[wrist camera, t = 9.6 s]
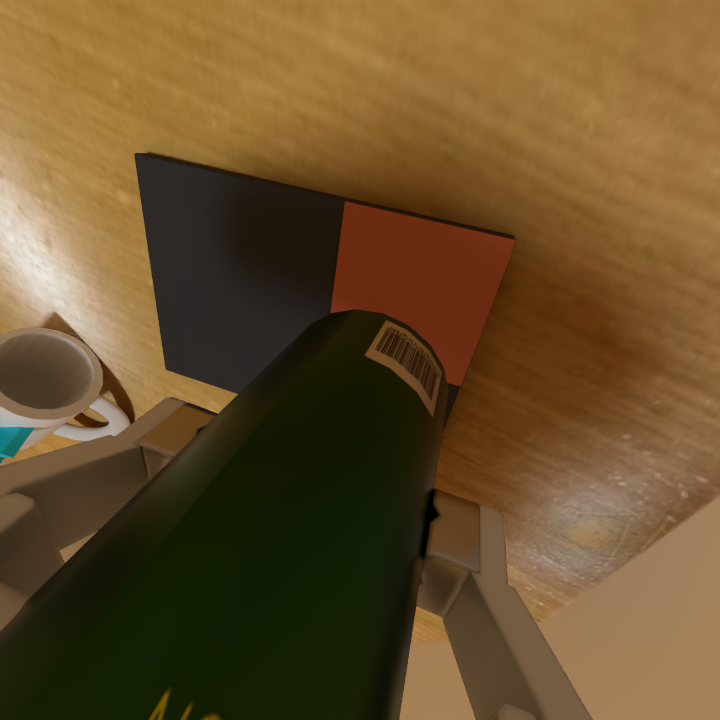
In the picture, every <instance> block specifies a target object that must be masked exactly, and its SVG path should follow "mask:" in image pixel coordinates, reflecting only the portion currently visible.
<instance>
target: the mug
mask: <svg viewBox="0 0 720 720" xmlns="http://www.w3.org/2000/svg"><path fill="white" fill-rule="evenodd" d="M102 385H103V370H102V368H101V365H100V362H99V360H98V358H97V357H96V355H95V354H94V353H93V352H92V350H91V349H90V348H89V347H88V346H87V345H85V344H84V343H82V342H81V341H80V340H78V339H77V338H76V337H73V336H71V335H68V334H66V333H64V332H61V331H59V330H53V329H47V328H41V327H37V328H21V329H17V330H14V331H11V332H8V333H5V334H2V335H1V336H0V463H1V462H2V461H3V459H4V458H5V457H10V458H13V457H14V456H15V455H16V453H17V452H18V451H19V450H23V449H26V448H28V447H31V446H33V445H35V444H37V443H38V442H40V441H41V440H43V439H44V438H46V437H47V436H48V435H50V434H51V433H53V434H56V435H59V436H62V437H66V438H70V439H74V440H80V441H90V440H93V439H96V438H100V437H103V436H107V435H112V436H116V435H118V434H119V433H120V432H122V431H123V430H124V429H126V428H127V427H128V426H130V425H131V423H130V421H129V418H128V416H127V415H126V414H125V413H124V412H123V411H122V409H121V408H120V407H118V406H117V405H116V404H114V403H113V402H112V401H110V400H109V399H107V398H105V397H103V396H102V395H100V394H99V393H100V390H101V388H102ZM88 407H89V408H91V409H93V410H95V411H97V412H98V413H100V414H101V415H102V416H104V417H105V418H106V419H107V420H108V421H109V424H108V425H107V426H104V427H99V428H90V427H82V426H77V425H73V424H69V423H67V422H68V421H69V420H71V419H72V418H74V417H75V416H76V415H78V414H79V413H81V412H82V411H83V410H85V409H86V408H88Z"/></svg>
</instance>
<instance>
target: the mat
mask: <svg viewBox="0 0 720 720" xmlns="http://www.w3.org/2000/svg"><path fill="white" fill-rule="evenodd" d="M135 162H136V169H137V176H138V183H139V189H140V196H141V203H142V210H143V217H144V224H145V231H146V237H147V244H148V251H149V258H150V265H151V272H152V278H153V285H154V292H155V299H156V306H157V313H158V320H159V326H160V333H161V340H162V347H163V354H164V361H165V367H166V370H168V371H171V372H174V373H177V374H180V375H183V376H186V377H189V378H192V379H195V380H198V381H201V382H204V383H207V384H210V385H213V386H216V387H219V388H222V389H225V390H228V391H231V392H234V393H237V394H239V393H240V392H241V391H242V390H243V389H244V388H245V387H246V386H247V385H248V384H249V383H250V382H252V381H253V380H254V379H255V378H256V377H257V376H258V375H259V374H260V373H261V372H262V371H263V370H264V369H265V368H266V367H267V366H268V365H269V364H270V363H271V362H272V361H273V360H274V359H275V358H276V357H277V356H278V355H279V354H280V353H281V352H282V351H283V350H284V349H285V348H286V347H287V346H288V345H289V344H290V343H292V342H293V341H294V340H295V339H296V338H297V337H298V336H299V335H300V334H301V333H302V332H303V331H304V330H305V329H306V328H307V327H308V326H309V325H310V324H312V323H314V322H315V321H317V320H319V319H321V318H323V317H324V316H326V315H328V314H330V313H335V312H341V311H347V310H353V309H359V310H366V311H373V312H379V313H386V314H388V315H390V316H393V317H395V318H397V319H399V320H401V321H403V322H405V323H407V324H409V325H410V326H411V327H412V328H413V329H414V330H415V331H417V332H418V333H419V334H420V335H421V336H422V337H423V338H424V339H425V340H426V341H427V342H428V343H429V344H430V345H431V346H432V348H433V350H434V351H435V353H436V355H437V357H438V358H439V360H440V362H441V363H442V365H443V367H444V370H445V376H446V381H447V386H448V398H447V405H446V411H445V418H444V424H443V430H444V428H445V425H446V422H447V420H448V417H449V415H450V412H451V409H452V407H453V404H454V401H455V399H456V396H457V394H458V391H459V388H460V387H461V385H462V382H463V380H464V377H465V374H466V372H467V369H468V367H469V364H470V361H471V359H472V356H473V354H474V351H475V348H476V346H477V343H478V340H479V338H480V335H481V333H482V330H483V327H484V325H485V322H486V320H487V317H488V314H489V312H490V309H491V307H492V304H493V301H494V299H495V296H496V294H497V291H498V288H499V286H500V283H501V280H502V278H503V275H504V273H505V270H506V267H507V265H508V262H509V260H510V257H511V254H512V252H513V249H514V247H515V244H516V240H515V237H514V236H513V235H509V234H504V233H500V232H495V231H491V230H487V229H482V228H478V227H473V226H469V225H464V224H460V223H455V222H451V221H447V220H442V219H438V218H433V217H429V216H424V215H420V214H415V213H411V212H407V211H402V210H398V209H393V208H389V207H384V206H380V205H375V204H371V203H367V202H362V201H358V200H353V199H349V198H344V197H340V196H335V195H331V194H327V193H322V192H318V191H313V190H309V189H304V188H300V187H295V186H291V185H287V184H282V183H278V182H273V181H269V180H264V179H260V178H255V177H251V176H247V175H242V174H238V173H233V172H229V171H224V170H220V169H215V168H211V167H207V166H202V165H198V164H193V163H189V162H184V161H180V160H175V159H171V158H167V157H162V156H158V155H153V154H149V153H135ZM442 433H443V431H442Z"/></svg>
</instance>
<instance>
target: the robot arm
mask: <svg viewBox="0 0 720 720" xmlns="http://www.w3.org/2000/svg"><path fill="white" fill-rule="evenodd" d="M217 415H218V414H217V413H215V412H212V411H209V410H207V409H204V408H201V407H199V406H196V405H193V404H191V403H187V402H185V401H182V400H179V399H177V398H174V397H170V398H166V399H164V400H163V401H161V402H160V403H159V404H157V405H156V406H155V407H153V408H152V409H151V410H149V411H148V412H147V413H145V414H144V415H143V416H141V417H140V418H139V419H138V420H136V421H135V422H134V423H132V424H131V425H130V426H128V427H127V428H126V429H124V430H123V431H122V432H120V433H119V434H118V435H116V436H112V435H107V436H103V437H100V438H96V439H93V440H90V441H86V442H83V443H79V444H76V445H72V446H69V447H65V448H62V449H59V450H55V451H52V452H48V453H45V454H41V455H38V456H34V457H31V458H28V459H24V460H21V461H17V462H14V463H10V464H7V465H3V466H0V631H1V630H2V629H3V628H4V627H5V626H6V625H7V624H8V623H9V622H10V621H11V620H12V618H13V617H14V616H15V615H16V614H17V613H18V612H19V610H20V609H21V608H22V607H23V605H24V604H25V602H26V601H27V600H28V599H29V598H30V597H31V596H32V595H33V594H34V593H35V592H36V591H37V590H38V589H39V588H40V587H41V586H42V585H43V584H44V583H45V582H46V581H47V580H48V579H49V578H50V577H51V576H53V575H54V574H55V573H56V572H57V571H58V570H59V569H60V568H61V567H62V566H63V565H64V564H65V562H64V560H63V558H62V556H61V554H60V552H59V551H60V550H61V549H63V548H65V547H67V546H69V545H71V544H73V543H75V542H77V541H79V540H81V539H83V538H85V537H86V536H88V535H90V534H92V533H94V532H96V531H98V530H100V529H101V528H102V527H103V526H104V525H105V524H106V523H107V522H108V521H109V520H110V519H111V518H112V517H113V516H114V515H115V514H116V513H117V512H118V511H119V510H120V509H121V508H122V507H123V506H124V505H125V504H126V503H127V502H128V501H129V500H130V499H132V498H133V497H134V496H135V495H136V494H137V493H138V492H139V491H140V490H141V489H142V488H143V487H144V486H145V485H146V484H147V483H148V482H149V481H150V480H151V479H152V478H153V477H154V476H155V475H156V474H157V473H158V472H159V471H160V470H161V469H162V468H163V467H164V466H165V465H166V464H167V463H168V462H169V461H170V460H172V459H173V458H174V457H175V456H176V455H177V454H178V453H179V452H180V451H181V450H182V449H183V448H184V447H185V446H186V445H187V444H188V443H189V442H190V441H191V440H192V439H193V438H194V437H195V436H196V435H197V434H198V433H199V432H200V431H201V430H202V429H203V428H204V427H205V426H206V425H207V424H208V423H209V422H210V421H212V420H213V419H214V418H215V417H216V416H217ZM416 606H418V607H420V608H422V609H424V610H427V611H429V612H431V613H434V614H436V615H438V616H441V617H443V623H444V626H445V629H446V632H447V634H448V637H449V640H450V643H451V646H452V649H453V652H454V655H455V658H456V661H457V664H458V667H459V670H460V673H461V676H462V679H463V682H464V685H465V688H466V691H467V694H468V697H469V700H470V703H471V706H472V709H473V712H474V715H475V718H476V720H592V718H591V716H590V714H589V713H588V711H587V709H586V707H585V706H584V704H583V702H582V701H581V699H580V697H579V696H578V694H577V692H576V690H575V689H574V688H573V686H572V684H571V682H570V680H569V679H568V677H567V675H566V673H565V672H564V670H563V669H562V667H561V665H560V664H559V662H558V660H557V658H556V657H555V655H554V653H553V651H552V650H551V648H550V646H549V645H548V643H547V641H546V639H545V638H544V636H543V634H542V633H541V631H540V629H539V628H538V626H537V624H536V622H535V621H534V619H533V617H532V616H531V614H530V612H529V611H528V609H527V607H526V605H525V604H524V602H523V600H522V599H521V597H520V595H519V594H518V592H517V590H516V588H514V587H511V586H509V585H508V580H507V563H506V546H505V530H504V516H503V514H502V512H501V511H499V510H496V509H493V508H491V507H488V506H485V505H482V504H477V503H476V502H474V501H471V500H468V499H465V498H462V497H459V496H456V495H453V494H450V493H447V492H444V491H441V490H438V489H435V488H434V491H433V498H432V504H431V511H430V517H429V524H428V531H427V537H426V544H425V551H424V557H423V564H422V571H421V577H420V584H419V591H418V597H417V604H416Z"/></svg>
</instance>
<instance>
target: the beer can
mask: <svg viewBox="0 0 720 720" xmlns="http://www.w3.org/2000/svg"><path fill="white" fill-rule="evenodd" d="M447 398H448V386H447V381H446V376H445V370H444V367H443V365H442V363H441V362H440V360H439V358H438V357H437V355H436V353H435V351H434V350H433V348H432V346H431V345H430V344H429V343H428V342H427V341H426V340H425V339H424V338H423V337H422V336H421V335H420V334H419V333H418V332H417V331H415V330H414V329H413V328H412V327H411V326H410V325H409V324H407V323H405V322H403V321H401V320H399V319H397V318H395V317H393V316H390V315H388V314H386V313H379V312H373V311H366V310H359V309H353V310H347V311H341V312H335V313H330V314H328V315H326V316H324V317H323V318H321V319H319V320H317V321H315V322H314V323H312V324H310V325H309V326H308V327H307V328H306V329H305V330H304V331H303V332H302V333H301V334H300V335H299V336H298V337H297V338H296V339H295V340H294V341H293V342H292V343H290V344H289V345H288V346H287V347H286V348H285V349H284V350H283V351H282V352H281V353H280V354H279V355H278V356H277V357H276V358H275V359H274V360H273V361H272V362H271V363H270V364H269V365H268V366H267V367H266V368H265V369H264V370H263V371H262V372H261V373H260V374H259V375H258V376H257V377H256V378H255V379H254V380H253V381H252V382H250V383H249V384H248V385H247V386H246V387H245V388H244V389H243V390H242V391H241V392H240V393H239V394H238V395H237V396H236V397H235V398H234V399H233V400H232V401H231V402H230V403H229V404H228V405H227V406H226V407H225V408H224V409H223V410H222V411H221V412H220V413H219V414H218V415H217V416H216V417H215V418H214V419H213V420H212V421H210V422H209V423H208V424H207V425H206V426H205V427H204V428H203V429H202V430H201V431H200V432H199V433H198V434H197V435H196V436H195V437H194V438H193V439H192V440H191V441H190V442H189V443H188V444H187V445H186V446H185V447H184V448H183V449H182V450H181V451H180V452H179V453H178V454H177V455H176V456H175V457H174V458H173V459H172V460H170V461H169V462H168V463H167V464H166V465H165V466H164V467H163V468H162V469H161V470H160V471H159V472H158V473H157V474H156V475H155V476H154V477H153V478H152V479H151V480H150V481H149V482H148V483H147V484H146V485H145V486H144V487H143V488H142V489H141V490H140V491H139V492H138V493H137V494H136V495H135V496H134V497H133V498H132V499H130V500H129V501H128V502H127V503H126V504H125V505H124V506H123V507H122V508H121V509H120V510H119V511H118V512H117V513H116V514H115V515H114V516H113V517H112V518H111V519H110V520H109V521H108V522H107V523H106V524H105V525H104V526H103V527H102V528H101V529H100V530H99V531H98V532H97V533H96V534H95V535H94V536H93V537H91V538H90V539H89V541H87V542H86V543H85V544H84V545H83V546H82V547H81V548H80V549H79V550H78V551H77V552H76V553H75V554H74V555H73V556H72V557H71V558H70V559H69V560H68V561H67V562H66V563H65V564H64V565H63V566H62V567H61V568H60V569H59V570H58V571H57V572H56V573H55V574H54V575H53V576H51V577H50V578H49V579H48V580H47V581H46V582H45V583H44V584H43V585H42V586H41V587H40V588H39V589H38V590H37V591H36V592H35V593H34V594H33V595H32V596H31V597H30V598H29V599H28V600H27V601H26V602H25V604H24V605H23V607H22V608H21V609H20V610H19V612H18V613H17V614H16V615H15V616H14V617H13V618H12V620H11V621H10V622H9V623H8V624H7V625H6V626H5V627H4V628H3V629H2V630H1V631H0V720H399V716H400V710H401V703H402V697H403V690H404V683H405V676H406V670H407V664H408V657H409V650H410V644H411V637H412V630H413V624H414V617H415V610H416V604H417V597H418V591H419V584H420V577H421V571H422V564H423V557H424V551H425V544H426V537H427V531H428V524H429V517H430V511H431V504H432V498H433V491H434V484H435V478H436V471H437V464H438V458H439V451H440V444H441V438H442V431H443V424H444V418H445V411H446V405H447Z"/></svg>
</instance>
